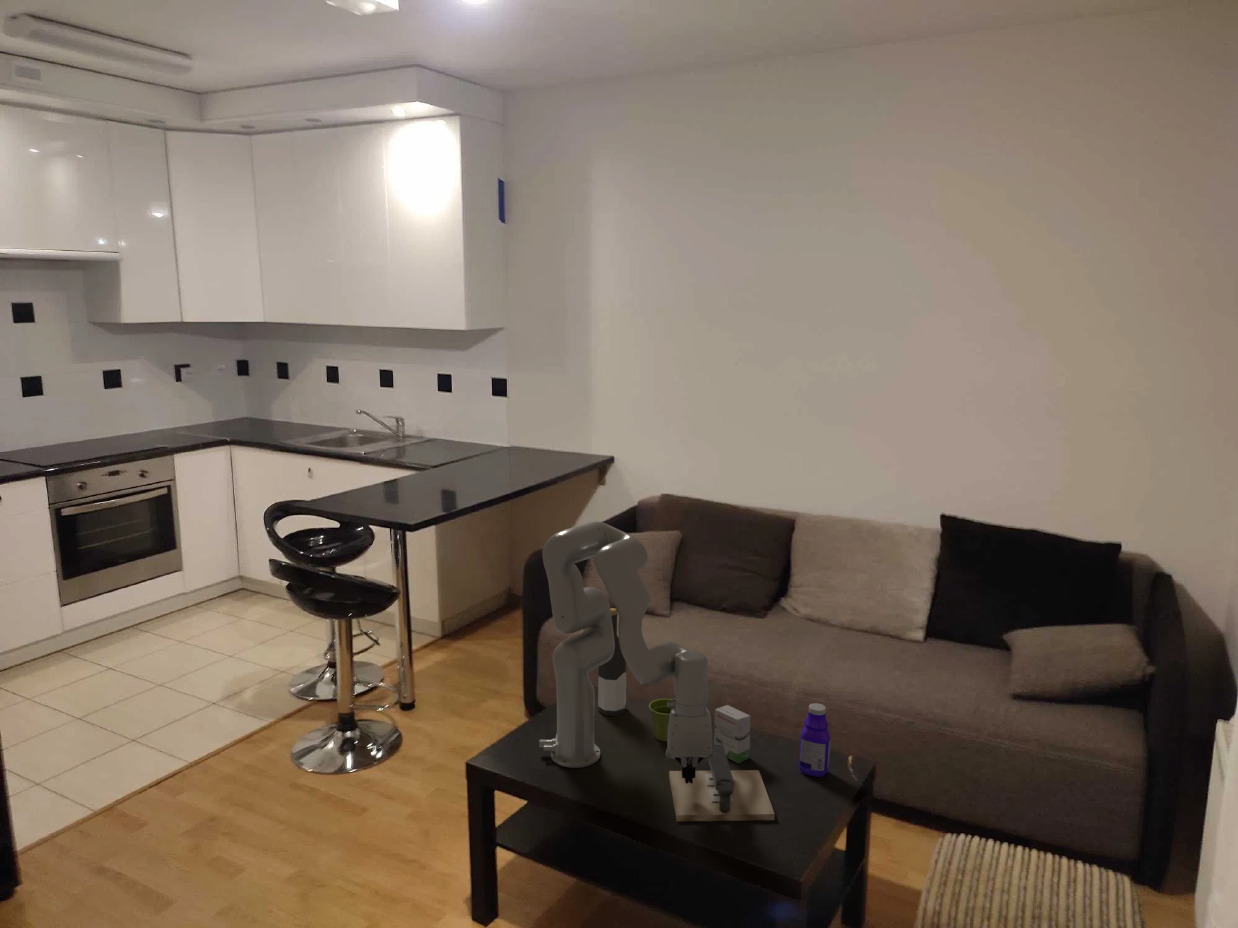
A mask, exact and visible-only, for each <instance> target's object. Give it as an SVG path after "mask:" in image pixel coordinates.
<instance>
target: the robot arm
mask: <svg viewBox="0 0 1238 928" xmlns="http://www.w3.org/2000/svg"><path fill="white" fill-rule="evenodd" d="M648 557H649V555H648V552H647V548H646V547H645V546H644V544H643V543H642V542H641V541H640V540H639V539H637V538H636V537H634V536H633V535H631V534H629V533H627V532H625V531H623V530H620V529H619V528H616V527H614V526H612V525H610V524H608V523H607V522H606V523H605V522H602V521H591V522H587V523H584V524H581V525H575V526H573V527H569V528H566V529H563V530H561V531H558V532H556V533H555V534H552V536H550V537H549V538H548V539H547V540H546V541H545V543H544V545H543V548H542V564H543V567H544V569H545V573H546V577H547V581H548V588H549V598H550V604H551V606H550V607H551V613H552V619H553V624H554V626H555V628H556V630H557V631H558V632H560V633H562V634H564V635H565V634H567V635H568V634H569V635H570V634H574V633H576V632H579V631H583V632H580V633H577V634H575V635H573V636H570V637H569V638H566V639H565V640H563V641H561V642H560V643H559V644H558V645H557V646H556V647H555V649H554V650H553V653H552V665H553V671H554V677H555V682H556V734H555V738H551V739H547V738H546V739H539V741H538V742H539V744H538V745H539V748H543V751H544V752H549V751H550V759H551V760H552V761H553V762H554V763H555V764H557V765H559V766H562V767H563V768H564V767H565V768H571V769H572V768H573V769H575V768H576V769H578V768H585V767H589V766H591V765H594V764H595V763H596V762H598V761H599V760H600V759H601V750H600V748H599V746H598V745H596V743H595V701H596V700H595V687H594V684H593V682H592V680H591V678H590V675H589V674H590V672H592V671H593V670H594V669H597V668H598V667H599V666H601V665H603V664H605V663H607V662H608V661H609V660H610V659H611V658H612V657H613V654H614V650H615V641H614V633H613V625H612V618H611V610H610V608H611V605H610V603H609V600H608V598H607V596H606V595H605V593H604V592H603V591H602V590H601V589H599V588H597V587H596V586H595V587H594V586H586V587H584V581H583V580H584V579H583V576H582V573H581V571H580V570H579V568H578V566H577V565H576V564H577V563H579V562H583V561H585V560H586V561H587V560H590V559H592V558H594V559H593V562H594V563H593V564H594V567H595V570H596V571H597V574H598V576H599V577H600V579H601V582H602V584H603V585H604V587H605V589H606V591H607V593H608V595H609V596H610V599H611V601H612V603H613V605H614V607H615V609H617V614H618V624H617V635H618V638H619V645H620V649H621V652H622V655H623V657H624V659H625V661H626V666H627V667H628V668H629V670H630V672H631V674H632V676H633V677H634V678H635V679H636V680H637V681H638V682H639V683H640V684H642V685H644V686H648V687H652V686H655V685H657V684H659V683H662V682H663V681H665V680H666V679H669V678H672V677H673V679H674V680H673V697H672V698H673V699H672V698H671V699H672V701H667V707H671V708H673V709H672V710H671V712H670V717H669V722H668V732H667V741H666V744H667V747H666V750H665V757H666V758H668V759H672V760H675V761H677V762H678V763H679V765H681V771H682V778H685V783H686V784H688V783H693V778H695V771H697V769H696V768H697V767H698V765H699V764H700V763H701V762H702V761H703V759H704V760H705V759H708V758H710V757H712V756H713V755H712V745H713V726H712V725H713V724H712V717H711V712H710V710H709V709H708V706H707V705H708V680H709V679H708V677H709V675H708V674H709V673H708V672H709V670H708V669H709V661H708V658H707V656H706V655H705V654H704V653H702V652H699V651H695V650H689V649H688V648H686V647H684V646H682V645H681V644H679V643H677V642H675V641H664V642H662V643H660V644H658V645H656V646H654V647H651V648H650V649H649V648H648V646H647V643H646V642H645V639H644V636H643V631H642V629H643V628H642V625H643V620H644V616H645V614H646V612H647V609H648V607H650V606H649V605H650V604H651V602H652V597H651V595H650V592H649V591H648V589H647V587H646V585H645V583H644V581H643V579H642V577H641V575H640V573H639V572H638V571H641V570H642V569H644V568H645V566H646V565H647V563H648ZM687 758H690V759H689V761H688V760H687Z"/></svg>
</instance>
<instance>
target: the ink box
mask: <svg viewBox="0 0 1238 928" xmlns="http://www.w3.org/2000/svg"><path fill="white" fill-rule="evenodd" d="M713 743H714V744H713V745H723V747H724V751H725V754H726V757H727V760H728V759H729V760H731V761H732V762H734V763H736V764H740V763H742V762H744V761H746V760H748V759H750V757H751V756H750V755H751V751H750V750H751V748H750V747H751V715H750V714H747V713H746V712H744V711H741V710H739V709H736V708H735V707H733V706H731V705H729V704H726V705H723V706H720V707H717V708H716V709H714V742H713Z"/></svg>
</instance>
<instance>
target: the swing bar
mask: <svg viewBox="0 0 1238 928" xmlns="http://www.w3.org/2000/svg"><path fill="white" fill-rule="evenodd" d="M712 755H713V756H712V757H710V758H707V760H708V761H707V762H708V765H709V769H710V771H711V773H712V777H713V780H714V784H715V788H716V790H717V792H718V793H719V794H720V795H724V796H729V795H732V794H733V790H734V780H733V777H732V774H731V770H732V769H731V768H730V763H729V761H728V758H727V757H726V754H725V751H724V747H723V745H714V744H712Z"/></svg>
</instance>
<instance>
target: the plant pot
mask: <svg viewBox="0 0 1238 928" xmlns="http://www.w3.org/2000/svg"><path fill="white" fill-rule="evenodd" d="M667 701H672V698H660V699H659V698H658V699H654V700H652V701H651V702H650V703H649V704H648V709H649V711H650V713H651V717H652V725H653V727H652V728H653V734H654V738H655V739H656V740H658V741H661V742H667V732H668V722H669V717H670V712H671V710H672V709H673V708H671V707H667Z"/></svg>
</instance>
